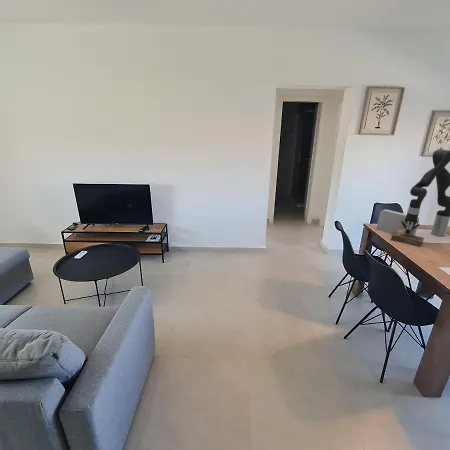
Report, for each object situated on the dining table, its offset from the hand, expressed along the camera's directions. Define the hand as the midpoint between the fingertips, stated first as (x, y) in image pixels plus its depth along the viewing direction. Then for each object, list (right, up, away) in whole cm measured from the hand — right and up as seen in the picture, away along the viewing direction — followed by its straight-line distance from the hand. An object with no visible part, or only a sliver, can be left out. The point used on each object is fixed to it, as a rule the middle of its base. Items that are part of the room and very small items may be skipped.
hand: (407, 233), depth 222 cm
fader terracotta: (-8, -1, -1) cm, 8 cm away
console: (-1, -6, -1) cm, 6 cm away
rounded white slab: (-1, -1, +15) cm, 15 cm away
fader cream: (-3, 0, +3) cm, 4 cm away
